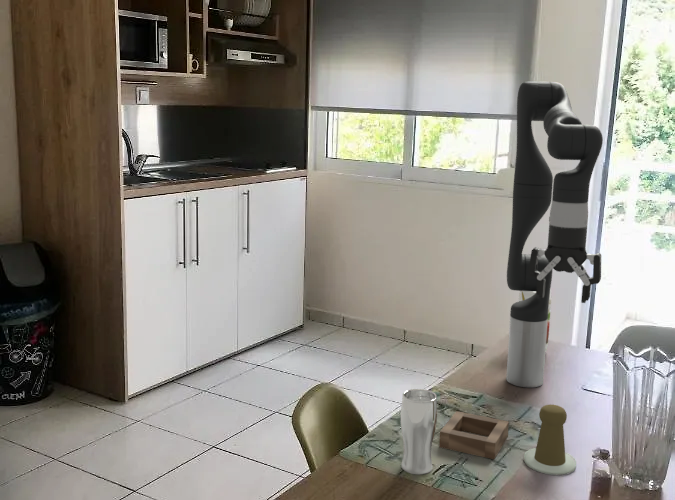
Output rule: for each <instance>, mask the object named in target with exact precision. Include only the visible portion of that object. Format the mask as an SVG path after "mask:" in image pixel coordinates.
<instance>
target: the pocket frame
mask: <svg viewBox="0 0 675 500" xmlns="http://www.w3.org/2000/svg"><path fill="white" fill-rule="evenodd" d="M509 424H510V421H508V420H502V419H498V418H493V417H488V416H482V415H478V414H473V413H467V412H462V411H458V410H456V411H455V412H454V413H453V415H452V416H451V417H450V418H449V419H448V420H447V422H446V423H445V425H443V427H442V428H441V430H439V439H438V440H439V444H438V446H439V448H440V449H441V448H442V449H446V450H451V451H453V452H454V451H455V452H458V453H464V454H469V455H473V456H477V457H482V458H486V459H489V460H490V459H491V460H495V459H496V457H497V455H498V454H499V453H500V451H501V449H502V447H503V446H504V444H505V443H506V441H507V439H508V438H509V429H510V428H509Z"/></svg>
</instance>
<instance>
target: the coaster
mask: <svg viewBox="0 0 675 500" xmlns="http://www.w3.org/2000/svg"><path fill="white" fill-rule="evenodd" d="M535 451H536V447H534V448H530V449H528V450H526V451H525V453H524V454H523V455H524V456H523V462H524V464H525V465H526V466H527V467H528V468H529V469H531V470H532V471H533V470H534V471H535V472H538V473H541V474H545V475H550V476H564V475H568V474H571V473H573V472H574V471H575V470H576V468H577V461H576V458H575V457H573V455H572V454H570V453H568V452H566V451H565V458H566V461H565V463H564V464H563V465H560V466H549V465H544V464H541V463H539V462H538V461H537V460H535V458H534V456H535Z"/></svg>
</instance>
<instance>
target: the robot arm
mask: <svg viewBox="0 0 675 500" xmlns="http://www.w3.org/2000/svg"><path fill="white" fill-rule="evenodd" d="M532 122H542V123H543V129H544V131H545V134H546V135H547V136H548V137H547V142H546V143H547V145H546V146H547V148H546V149H547V152H548V155H549V156H551V157H552V158H553V159H556V160H560V161H565V160H566V161H579V163H578V164H577V165H576V167H574V168H573V169H570V170H565V171H560V172H558V173H556V174H555V175H554V176H553V173H552V171H551V168H550V167H549V164H548V163H547V161H546V159H545V158H544V156H543V154H542V153H541V151H540V149H539V147H538V145H537V143H536V140H535V138H534V133H533V127H532ZM603 139H604V138H603V133H602V131H601V130H600V128H599V127H597V125H593V124H582V121H581V120H580V119H579V117H578V116H577V115H576V113H574V111H573V109H572V106H571V101H570V98H569V95H568V92H567V90H566V87H565V86H564V85H563V84H562V83H560V82H557V81H524V82H522V83H521V84H520V85H519V88H518V91H517V100H516V153H515V164H514V177H513V187H512V212H511V213H512V216H511V218H512V219H511V220H512V221H511V233H510V241H509V242H510V243H509V248H508V257H507V258H508V259H507V267H506V284H507V287H508V288H509V290H511V291H519V292H520V291H534V292H536V293H535V294H534V295H533V296H532V297H530V298H528V299H526V300H523V301H519V300H518V301H517V302H514V303H513V304H512V305H511V307H510V310H509V311H510V313H509V330H508V331H509V332H508V334H509V335H508V346H507V360H506V361H507V363H506V364H507V365H506V379H505V380H506V382H508V384H511V385H514V386H517V387H523V388H536V387H537V388H538V387H540V386H542V385H543V384H544V374H545V373H544V372H545V361H546V353H545V349H546V336H547V321H548V307H549V296H550V289H551V287H552V279H553V271H556V272H560V273H561V272H566V273H569V274H572V273H575V274H576V275H577V277H578V278H579V279H580V280H581V281H582V283H583V285H582V288H581V289H582V290H581V291H582V292H581V302H580V303H582V304H586V302H587V301H589V299H590V297H591V291H592V290H591V287H592V285H595V284H596V285H597V284H600V282H601V279H602V254H601V252H597V253H587V250H586V248H587V235H588V224H589V223H588V221H589V196H590V195H589V194H590V184H591V179H592V176H593V171H594V168H595V166H596V163H597V161H598V158H599V156H600V152H601V151H602V147H603V143H604V142H603V141H604V140H603ZM550 206H551V207H550ZM549 208H550V209H549ZM548 209H549V210H550V211H549V216H548V235H547V237H548V238H547V247H546V248H545V249H542V248H539V247H538V246H535V247H533V249H531V251H530V254H529V253H528V254H524V253H523V252H524V247H525V244H526V242H527V240H528V238H529V236H530V234H531V233H532V231H533V230H534V228H535V227H536V226H537V224H538V223H539V222H540V221H541V220H542V218H543V217H544V215H545V214H546V212H548ZM587 260H589V264H590V265H591V266H593V267H592V271H593V273H592V277H590V275H589V274H588V272H587V270H586V268H585V267H584V265H583V264H584V263H585V262H586V261H587Z"/></svg>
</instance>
